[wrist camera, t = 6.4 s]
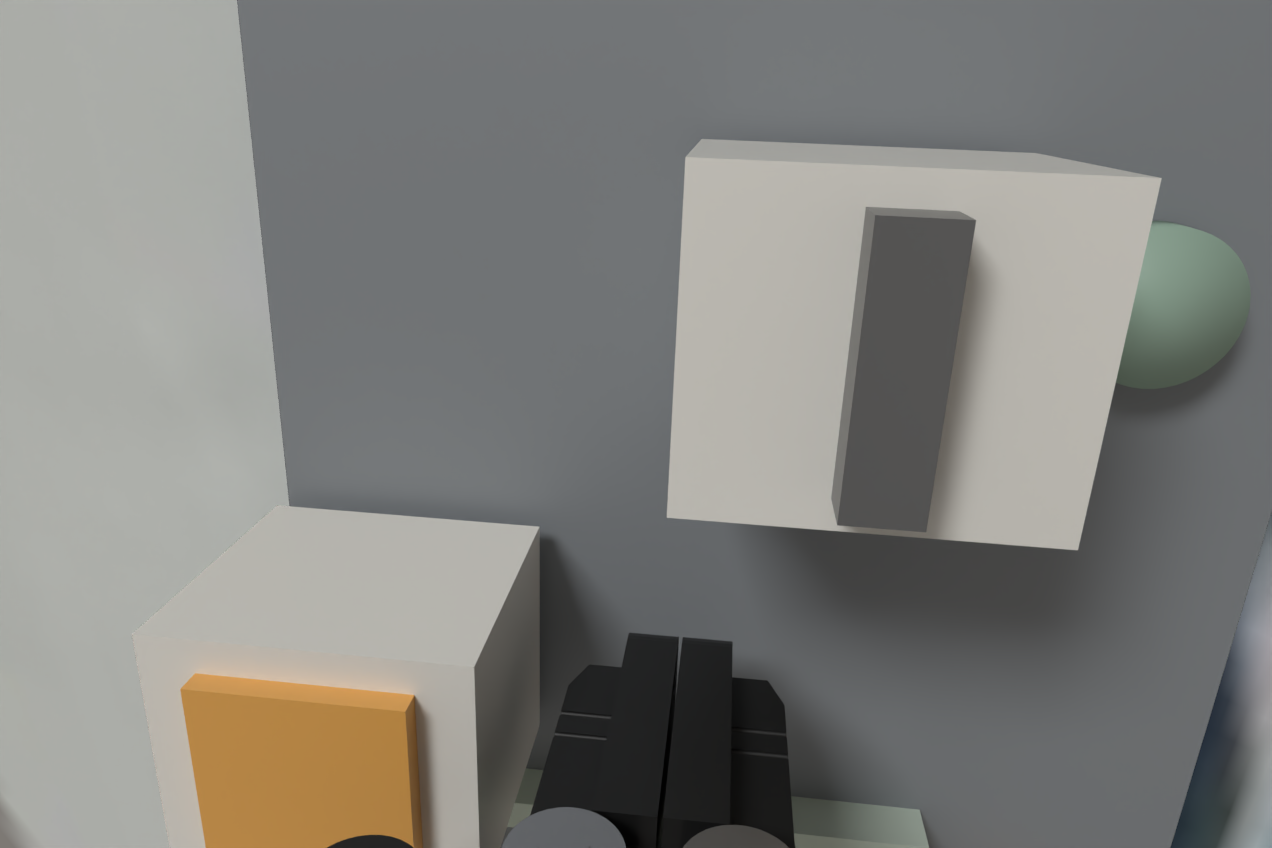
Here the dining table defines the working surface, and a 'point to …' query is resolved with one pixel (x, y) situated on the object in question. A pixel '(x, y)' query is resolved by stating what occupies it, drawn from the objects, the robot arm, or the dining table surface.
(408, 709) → the block
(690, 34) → the breaker panel
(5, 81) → the dining table surface
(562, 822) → the robot arm
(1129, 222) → the toggle plain
